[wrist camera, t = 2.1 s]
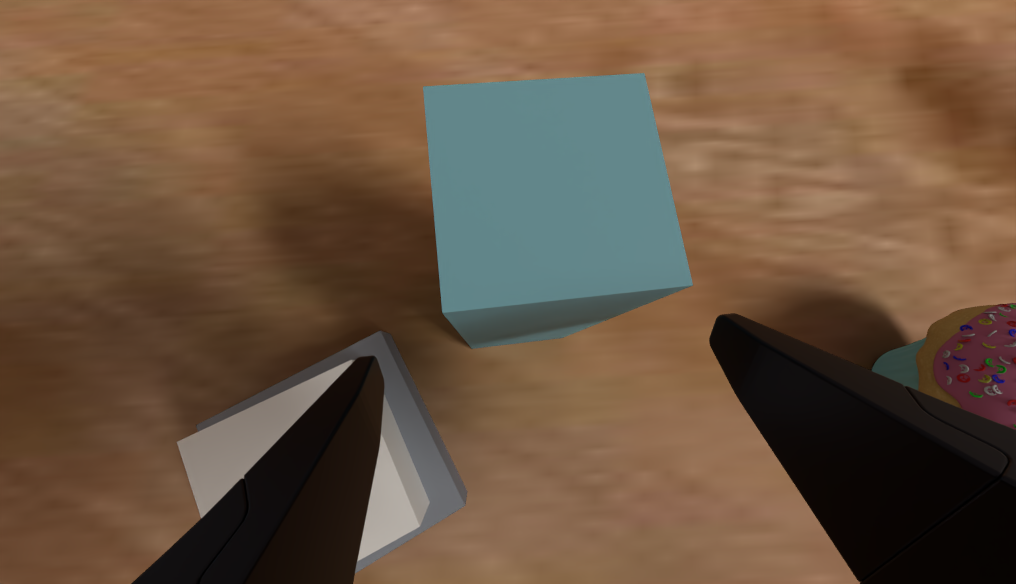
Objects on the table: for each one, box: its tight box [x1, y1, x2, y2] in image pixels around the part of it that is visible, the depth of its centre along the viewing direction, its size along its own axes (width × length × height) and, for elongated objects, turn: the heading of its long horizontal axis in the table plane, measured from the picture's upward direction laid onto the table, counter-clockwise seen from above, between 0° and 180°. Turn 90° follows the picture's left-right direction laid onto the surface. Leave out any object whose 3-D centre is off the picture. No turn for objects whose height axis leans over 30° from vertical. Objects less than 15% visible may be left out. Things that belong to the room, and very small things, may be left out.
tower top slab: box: [177, 360, 430, 561], centre depth 15 cm, size 7×7×2 cm
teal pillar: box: [423, 73, 693, 349], centre depth 14 cm, size 5×5×13 cm
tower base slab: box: [196, 331, 467, 573], centre depth 17 cm, size 9×9×2 cm
